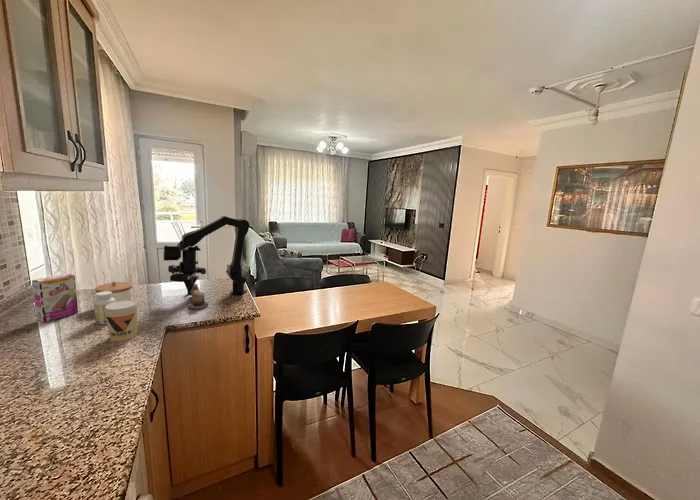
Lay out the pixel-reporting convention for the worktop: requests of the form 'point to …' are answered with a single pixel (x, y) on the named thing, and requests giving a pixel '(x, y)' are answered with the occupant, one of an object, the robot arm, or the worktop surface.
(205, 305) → the dark grey pieces
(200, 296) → the capstan lever
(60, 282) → the candy bar box
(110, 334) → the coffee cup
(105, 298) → the pill bottle
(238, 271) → the robot arm
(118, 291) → the lidded bowl
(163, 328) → the worktop surface
